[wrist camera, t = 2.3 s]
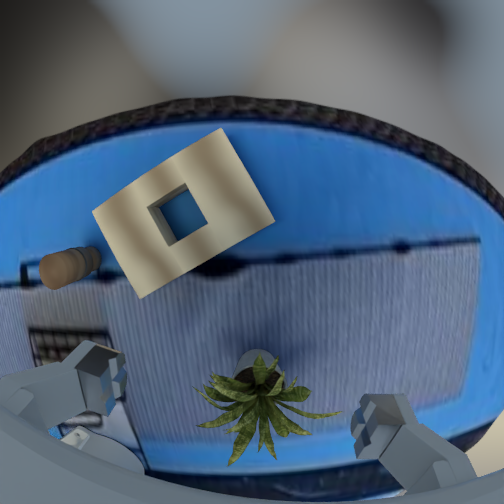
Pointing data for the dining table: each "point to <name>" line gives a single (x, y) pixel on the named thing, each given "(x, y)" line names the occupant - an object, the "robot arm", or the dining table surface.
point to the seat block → (156, 227)
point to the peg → (68, 266)
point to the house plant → (257, 401)
